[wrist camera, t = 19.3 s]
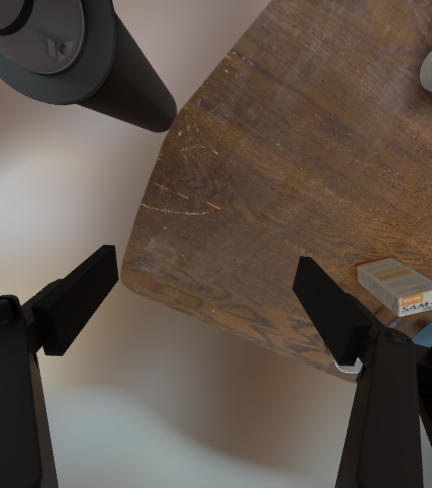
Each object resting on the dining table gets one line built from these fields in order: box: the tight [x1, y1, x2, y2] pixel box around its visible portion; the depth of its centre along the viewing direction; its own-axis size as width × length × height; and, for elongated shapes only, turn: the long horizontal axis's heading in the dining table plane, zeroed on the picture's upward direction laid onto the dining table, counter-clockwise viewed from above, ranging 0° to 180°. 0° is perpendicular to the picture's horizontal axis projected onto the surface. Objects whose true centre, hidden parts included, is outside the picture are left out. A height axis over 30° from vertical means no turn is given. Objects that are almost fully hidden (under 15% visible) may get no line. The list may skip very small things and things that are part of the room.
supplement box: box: [356, 257, 432, 317], centre depth 47 cm, size 8×5×13 cm, turn 106°
